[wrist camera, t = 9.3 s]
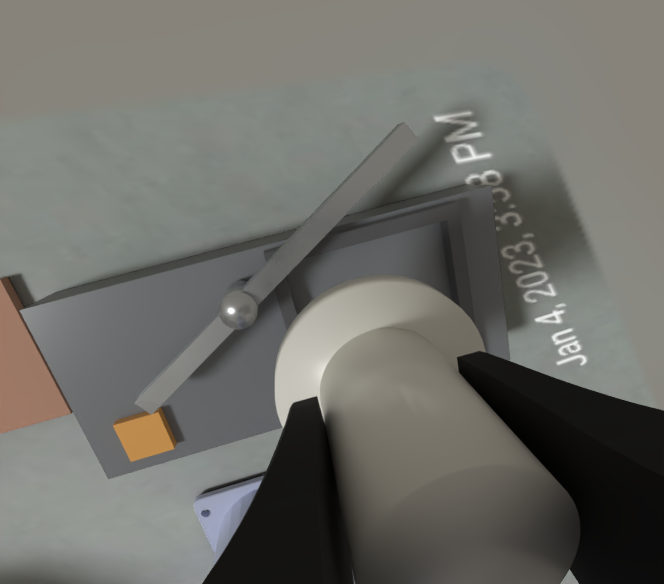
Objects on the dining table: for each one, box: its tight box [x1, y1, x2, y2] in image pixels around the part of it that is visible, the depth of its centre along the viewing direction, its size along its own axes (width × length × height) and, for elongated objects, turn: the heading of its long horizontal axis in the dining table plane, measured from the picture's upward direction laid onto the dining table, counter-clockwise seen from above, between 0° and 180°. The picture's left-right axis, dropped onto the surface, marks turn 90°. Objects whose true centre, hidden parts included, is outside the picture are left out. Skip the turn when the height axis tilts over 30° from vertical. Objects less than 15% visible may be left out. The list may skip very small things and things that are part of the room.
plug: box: [275, 275, 580, 584], centre depth 9 cm, size 6×6×6 cm
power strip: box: [19, 185, 510, 479], centre depth 18 cm, size 9×20×3 cm, turn 103°
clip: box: [135, 122, 419, 415], centre depth 15 cm, size 1×14×2 cm, turn 135°
